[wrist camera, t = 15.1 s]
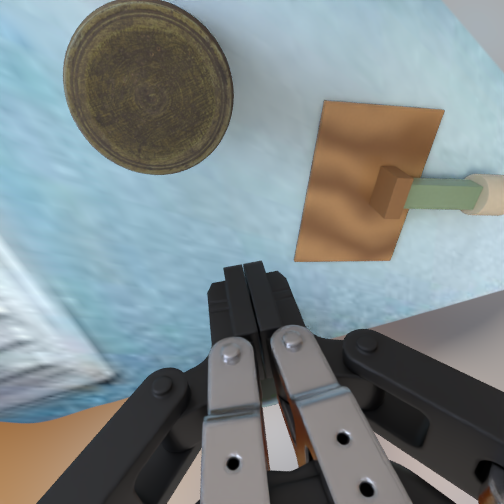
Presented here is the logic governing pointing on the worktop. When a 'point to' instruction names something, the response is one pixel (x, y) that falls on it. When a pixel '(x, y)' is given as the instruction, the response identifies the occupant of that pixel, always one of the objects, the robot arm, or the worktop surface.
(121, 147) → the container
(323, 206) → the brown flat board
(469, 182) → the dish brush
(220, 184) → the worktop surface
